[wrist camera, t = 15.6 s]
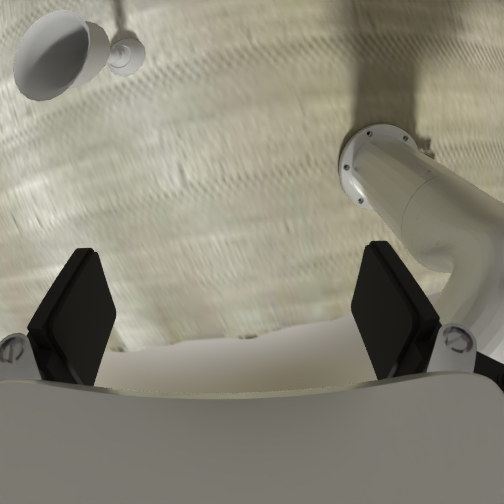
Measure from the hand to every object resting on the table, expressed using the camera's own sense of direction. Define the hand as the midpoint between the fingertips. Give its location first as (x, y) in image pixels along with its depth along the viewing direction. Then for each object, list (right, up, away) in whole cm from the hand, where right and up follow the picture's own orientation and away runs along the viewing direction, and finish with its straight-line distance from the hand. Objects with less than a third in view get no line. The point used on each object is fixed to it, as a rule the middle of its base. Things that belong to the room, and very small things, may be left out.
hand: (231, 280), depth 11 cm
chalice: (-15, +25, +20) cm, 35 cm away
